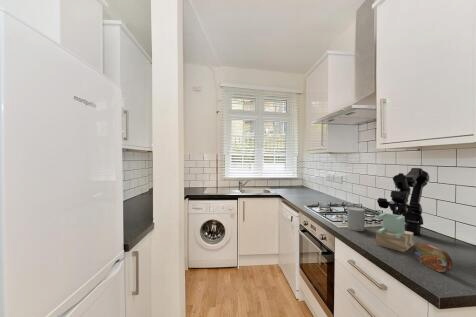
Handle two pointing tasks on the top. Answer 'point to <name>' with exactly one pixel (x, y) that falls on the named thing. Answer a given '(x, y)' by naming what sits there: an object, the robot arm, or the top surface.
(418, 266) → the top surface
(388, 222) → the green notched block
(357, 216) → the grey round cylinder
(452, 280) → the top surface
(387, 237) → the beige ridged block
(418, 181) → the robot arm
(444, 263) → the tin
